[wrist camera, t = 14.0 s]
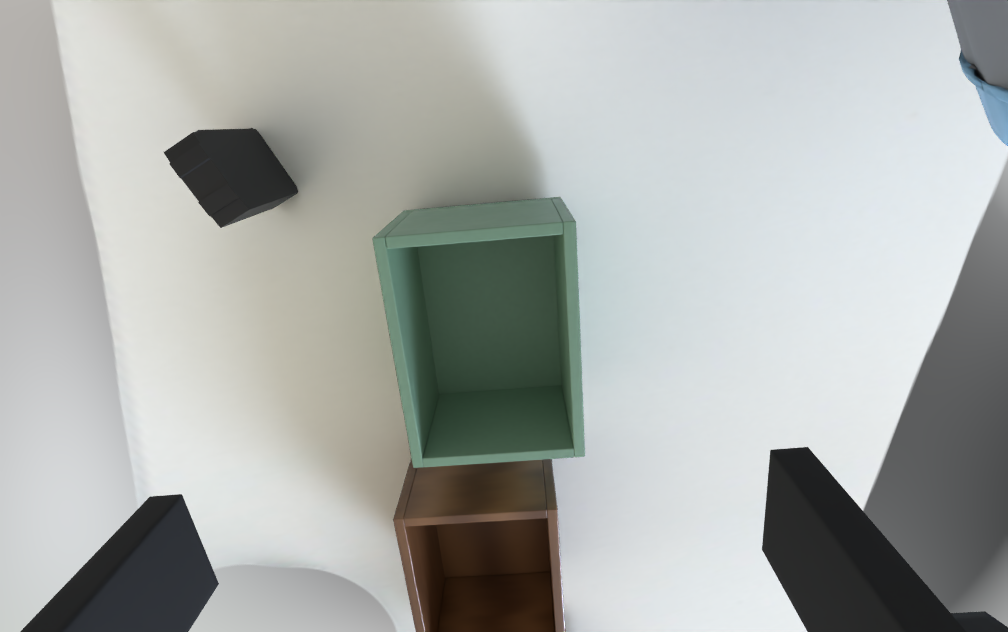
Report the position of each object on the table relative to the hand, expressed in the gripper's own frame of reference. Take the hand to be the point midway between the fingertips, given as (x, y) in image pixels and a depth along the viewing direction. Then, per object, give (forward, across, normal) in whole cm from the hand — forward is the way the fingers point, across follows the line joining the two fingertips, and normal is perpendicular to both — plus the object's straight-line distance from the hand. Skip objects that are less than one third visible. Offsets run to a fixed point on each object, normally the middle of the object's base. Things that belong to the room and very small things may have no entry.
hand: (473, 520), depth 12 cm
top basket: (+28, -2, -5) cm, 29 cm away
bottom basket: (+28, -4, -24) cm, 37 cm away
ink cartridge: (+28, -16, +7) cm, 33 cm away
